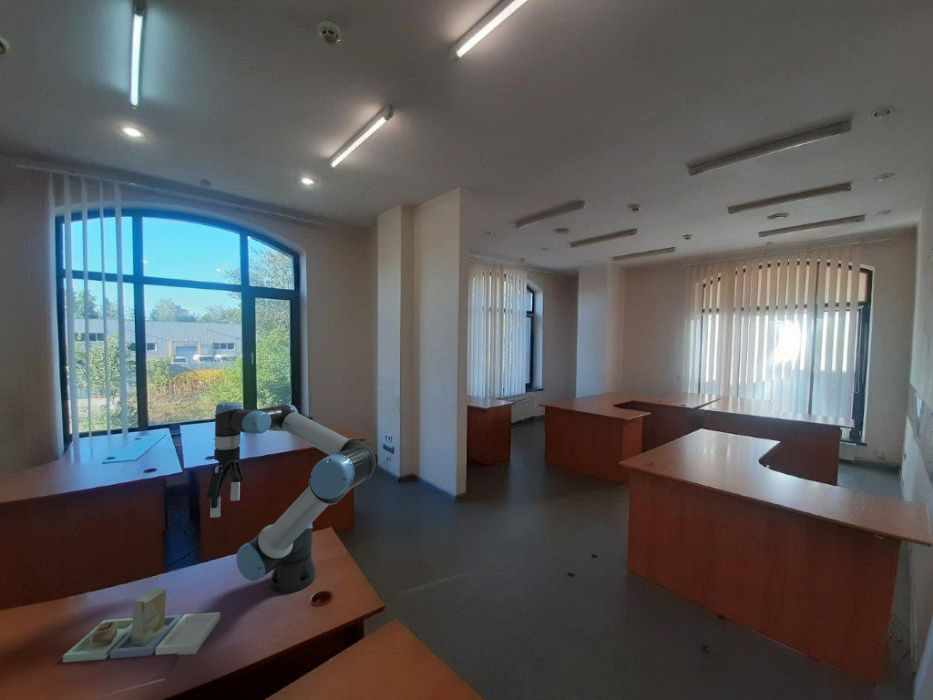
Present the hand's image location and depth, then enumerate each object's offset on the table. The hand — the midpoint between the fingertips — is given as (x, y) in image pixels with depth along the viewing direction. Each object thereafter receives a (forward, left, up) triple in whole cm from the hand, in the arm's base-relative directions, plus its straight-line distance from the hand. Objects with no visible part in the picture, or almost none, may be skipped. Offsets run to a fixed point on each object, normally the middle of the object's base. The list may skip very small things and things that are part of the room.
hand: (225, 508), depth 128 cm
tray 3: (-1, +21, -29) cm, 36 cm away
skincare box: (+10, +21, -28) cm, 36 cm away
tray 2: (+10, +21, -29) cm, 37 cm away
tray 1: (+21, +21, -29) cm, 41 cm away
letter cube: (+21, +21, -28) cm, 41 cm away
